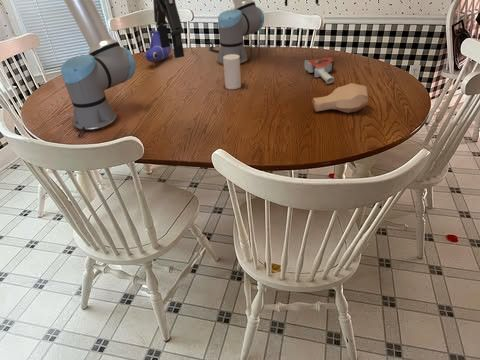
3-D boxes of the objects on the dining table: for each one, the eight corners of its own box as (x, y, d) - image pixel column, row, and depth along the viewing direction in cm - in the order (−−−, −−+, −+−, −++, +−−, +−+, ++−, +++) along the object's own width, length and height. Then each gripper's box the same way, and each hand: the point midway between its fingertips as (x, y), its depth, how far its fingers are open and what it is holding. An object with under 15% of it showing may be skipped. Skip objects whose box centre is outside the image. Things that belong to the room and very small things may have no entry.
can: (230, 90, 152) (228, 60, 144) (222, 85, 156) (220, 56, 149) (244, 86, 155) (242, 56, 147) (235, 82, 159) (233, 53, 152)
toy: (159, 62, 200) (139, 68, 178) (155, 30, 193) (133, 32, 171) (176, 61, 198) (157, 67, 176) (172, 29, 191) (151, 31, 169)
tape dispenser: (330, 89, 151) (346, 71, 163) (331, 77, 147) (348, 59, 160) (292, 80, 158) (310, 64, 171) (293, 69, 155) (311, 53, 167)
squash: (372, 113, 127) (374, 92, 121) (316, 123, 129) (316, 102, 123) (363, 96, 135) (365, 75, 129) (310, 106, 137) (310, 86, 130)
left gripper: (187, -25, 91) (198, 59, 103) (159, -31, 109) (171, 41, 122) (159, -21, 88) (173, 64, 101) (135, -28, 107) (150, 45, 119)
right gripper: (274, -50, 142) (274, 7, 155) (336, -54, 142) (331, 4, 154) (272, -52, 148) (272, 4, 161) (332, -55, 148) (327, 1, 160)
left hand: (172, 51), depth 111 cm, fingers open, 13 cm apart
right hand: (301, 4), depth 157 cm, fingers open, 13 cm apart
